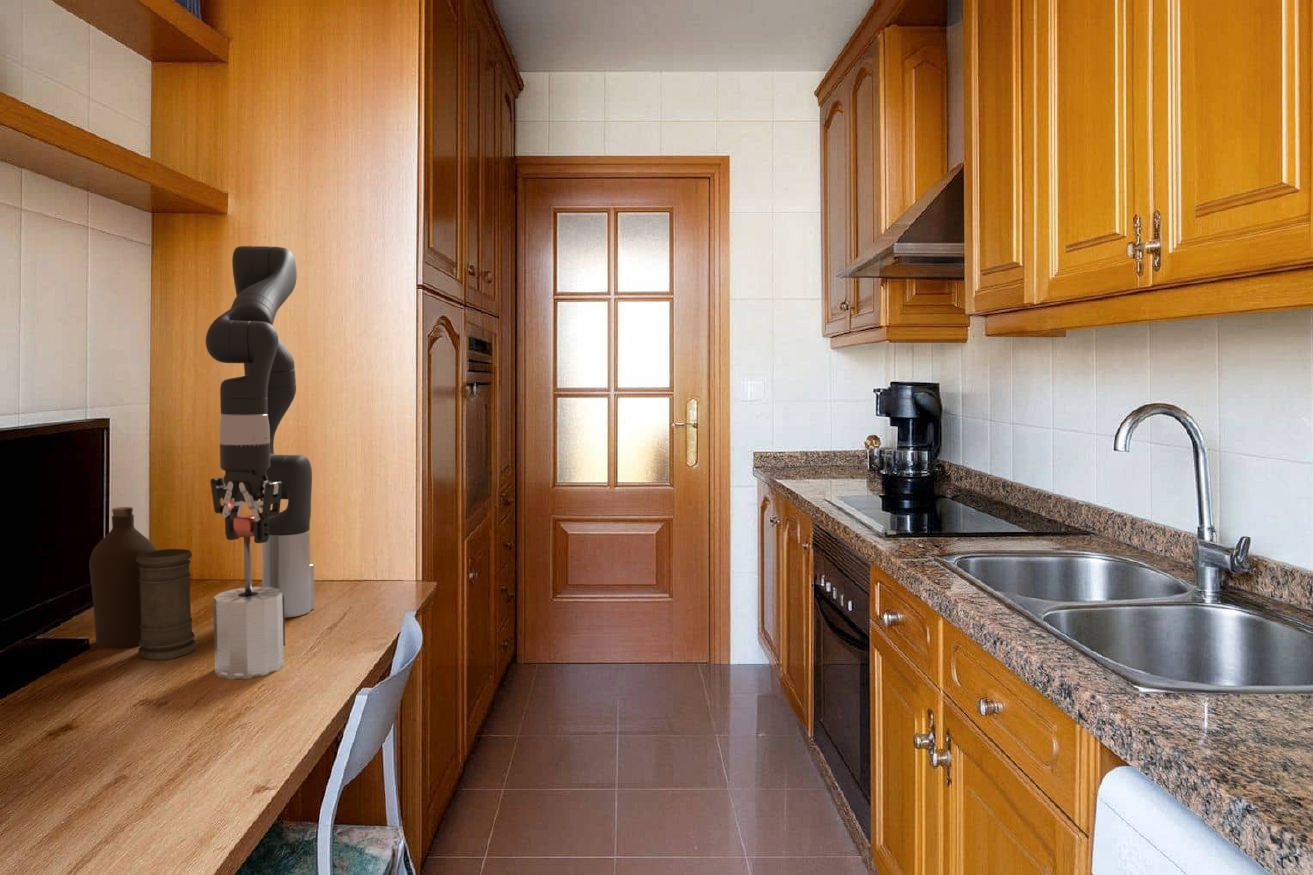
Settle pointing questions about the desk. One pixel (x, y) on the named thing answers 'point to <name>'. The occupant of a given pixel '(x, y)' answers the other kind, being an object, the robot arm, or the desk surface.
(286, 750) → the desk surface
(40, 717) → the desk surface
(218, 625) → the press carafe
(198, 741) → the desk surface
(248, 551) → the plunger
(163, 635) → the container
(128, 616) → the olive oil
